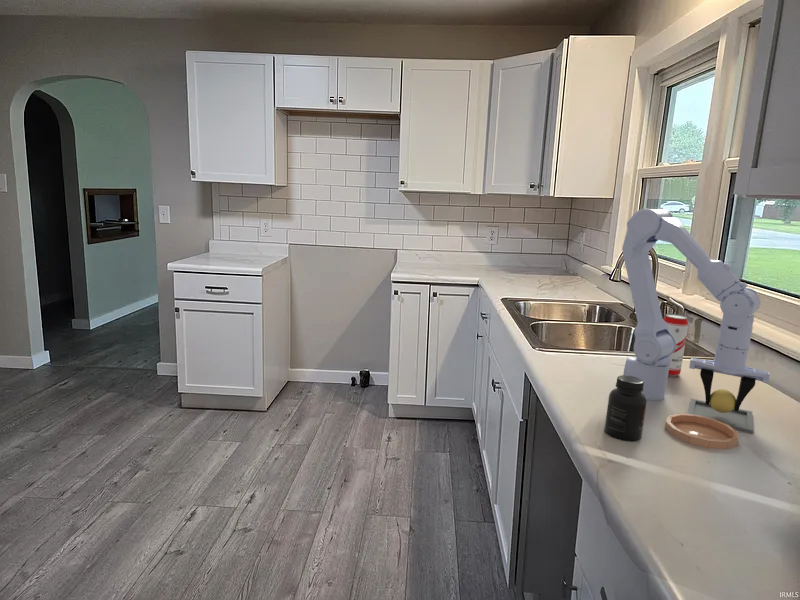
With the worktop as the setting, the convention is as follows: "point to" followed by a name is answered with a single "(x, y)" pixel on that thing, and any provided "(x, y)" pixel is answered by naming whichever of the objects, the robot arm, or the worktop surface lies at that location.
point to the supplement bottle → (626, 409)
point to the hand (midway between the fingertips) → (721, 406)
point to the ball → (722, 401)
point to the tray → (723, 415)
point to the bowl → (702, 431)
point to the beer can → (677, 341)
